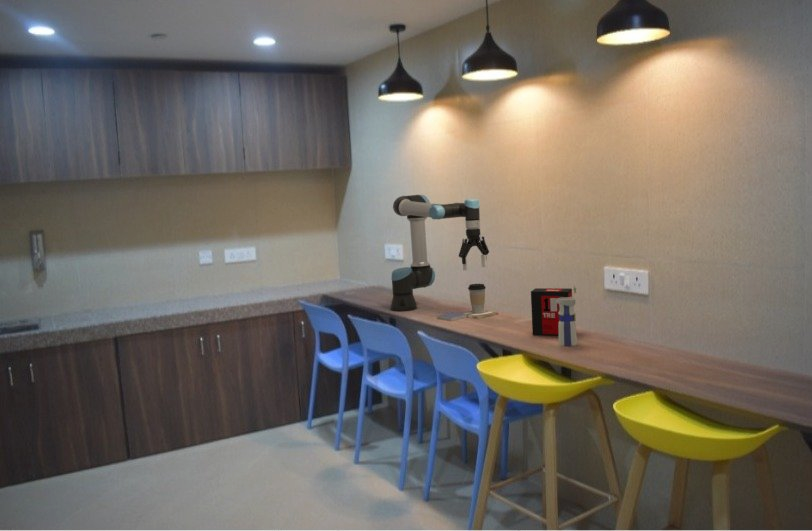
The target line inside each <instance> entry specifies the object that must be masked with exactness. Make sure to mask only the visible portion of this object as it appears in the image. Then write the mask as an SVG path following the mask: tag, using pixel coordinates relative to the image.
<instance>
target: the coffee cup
mask: <svg viewBox="0 0 812 531" xmlns="http://www.w3.org/2000/svg"><path fill="white" fill-rule="evenodd" d="M486 289H487V288H486V286H485V284H484V283H471V284H469V285H468V287H467V290H468V292H469V300H470V304H471V311H472V312H473V313H474V314H481V313H484V310H485V302H486Z"/></svg>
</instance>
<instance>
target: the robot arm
mask: <svg viewBox="0 0 812 531" xmlns="http://www.w3.org/2000/svg"><path fill="white" fill-rule="evenodd" d="M480 206H481V205H480V202H479V199H478V198H465V200H464V202H454V203H446V204H443V203H442V204H441V203H431V202H430V200H429V198H428V197H427V196H426V195H424V194H412V195H401V196H398V197H397V198H396V199H395V200H394V201H393V204H392V209H393V212H394V213H395V214H396V215H397V216H400V217H406V219H407V221H409V225H410V226H409V227H410V240H411V241H410V242H411V258H412V263H411V264H410V265H409V267H408V266H407V267H405V266H404V267H400V268H396V269H394V270H392V271H391V284H392V286H391V287H392V289H391V290H392V299H391V303H390V311H393V312H394V311H395V312H407V311H413V310H417V308H418V304H417V302H416V299H415V296H414V294H413V293H414V290H416V289H422V288H427V287H430V286H432V285H433V283H434V282H435V279H436V272H435V270H434V268H433V267H432V266H431V264H430V262H428V252H427V237H426V235H427V233H426V220H427V218H431V219H432V220H443V219H445V220H446V219H453V218H464V219H465V228H466V229H465V235H466V238H462V242H461V246H460V250H459V252H458V257H459V258H461V263H462V270H463V271H468V270H469V268H468V266H469V264H468V257H467V256H468V255H469V252H470V250H471V248H472V247H476V248H477V249H478V250H479V252H480V253H481V254H480V259H481V268H487V255H489V254H490V250H489V247H488V245H487V243H486V240H485V236H481V222H480V221H481V219H480Z"/></svg>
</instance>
